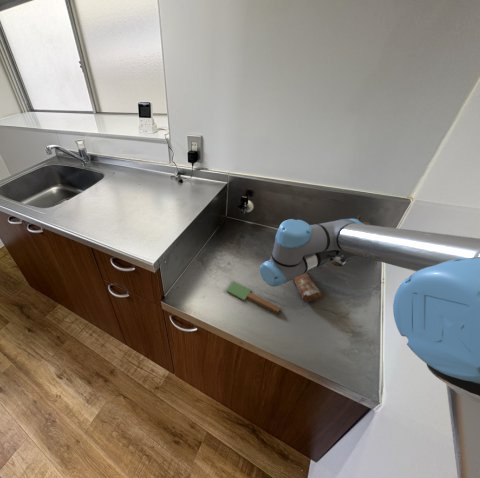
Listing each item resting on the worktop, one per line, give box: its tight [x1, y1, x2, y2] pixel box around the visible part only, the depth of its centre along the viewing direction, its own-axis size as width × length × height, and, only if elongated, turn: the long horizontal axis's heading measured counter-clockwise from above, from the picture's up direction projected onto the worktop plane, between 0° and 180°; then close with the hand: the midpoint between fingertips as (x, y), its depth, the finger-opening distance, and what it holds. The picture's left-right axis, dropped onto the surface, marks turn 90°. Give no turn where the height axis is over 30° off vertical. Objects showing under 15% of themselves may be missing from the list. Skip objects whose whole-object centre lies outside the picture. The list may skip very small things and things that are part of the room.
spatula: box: [226, 281, 281, 315], centre depth 88 cm, size 18×5×1 cm, turn 49°
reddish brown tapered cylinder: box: [293, 272, 324, 303], centre depth 89 cm, size 6×19×6 cm, turn 177°
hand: (360, 231), depth 80 cm, fingers closed on kendama, 8 cm apart
